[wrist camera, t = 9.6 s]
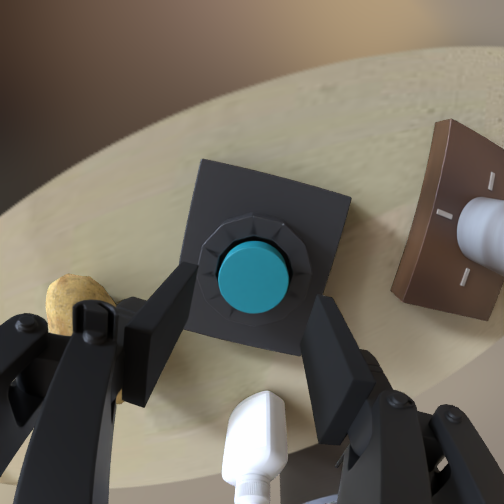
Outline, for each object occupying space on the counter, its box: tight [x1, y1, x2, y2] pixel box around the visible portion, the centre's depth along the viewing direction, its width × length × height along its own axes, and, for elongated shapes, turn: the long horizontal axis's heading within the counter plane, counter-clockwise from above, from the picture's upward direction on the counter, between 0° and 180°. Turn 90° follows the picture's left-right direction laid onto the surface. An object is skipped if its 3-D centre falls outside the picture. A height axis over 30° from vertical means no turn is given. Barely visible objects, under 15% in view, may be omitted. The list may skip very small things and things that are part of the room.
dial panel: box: [391, 119, 504, 321], centre depth 20 cm, size 14×10×3 cm
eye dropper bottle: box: [222, 391, 288, 504], centre depth 21 cm, size 4×6×12 cm
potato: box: [46, 274, 124, 404], centre depth 22 cm, size 7×11×6 cm, turn 12°
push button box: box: [179, 159, 352, 356], centre depth 21 cm, size 12×10×4 cm
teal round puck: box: [218, 241, 289, 313], centre depth 19 cm, size 4×4×2 cm
